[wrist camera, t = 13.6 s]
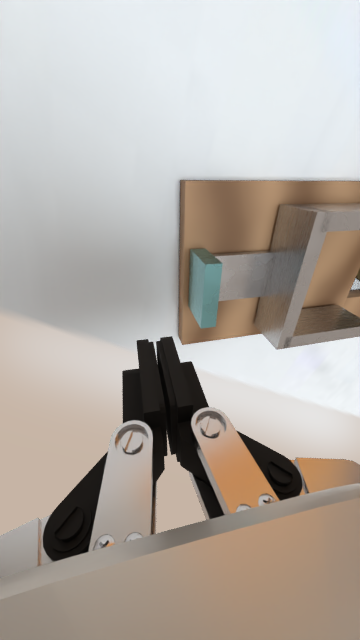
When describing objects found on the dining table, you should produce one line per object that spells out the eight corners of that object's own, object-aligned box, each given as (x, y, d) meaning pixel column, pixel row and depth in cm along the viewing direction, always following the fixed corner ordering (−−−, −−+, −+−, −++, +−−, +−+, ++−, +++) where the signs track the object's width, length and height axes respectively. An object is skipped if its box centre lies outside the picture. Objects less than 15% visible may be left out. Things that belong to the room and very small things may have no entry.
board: (178, 336, 25) (182, 344, 23) (180, 180, 17) (185, 181, 16) (390, 307, 30) (402, 313, 29) (461, 181, 23) (480, 182, 22)
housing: (187, 333, 22) (200, 361, 19) (191, 206, 17) (211, 215, 13) (333, 314, 26) (365, 335, 23) (380, 202, 20) (433, 209, 17)
